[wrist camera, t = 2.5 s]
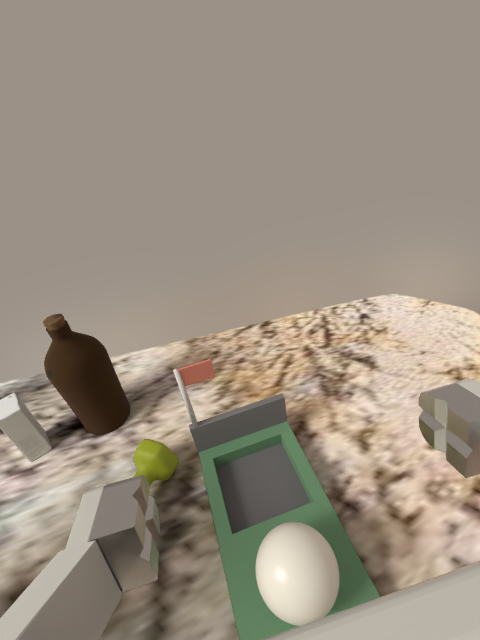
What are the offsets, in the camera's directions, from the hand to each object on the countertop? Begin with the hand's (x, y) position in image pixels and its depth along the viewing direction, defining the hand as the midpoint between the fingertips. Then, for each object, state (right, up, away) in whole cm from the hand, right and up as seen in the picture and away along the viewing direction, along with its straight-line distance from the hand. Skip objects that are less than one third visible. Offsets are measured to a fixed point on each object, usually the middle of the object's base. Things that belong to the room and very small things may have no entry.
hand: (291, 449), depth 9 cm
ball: (+5, -24, +27) cm, 36 cm away
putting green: (+4, -26, +37) cm, 45 cm away
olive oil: (-29, -17, +60) cm, 69 cm away
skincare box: (-41, -22, +56) cm, 73 cm away
